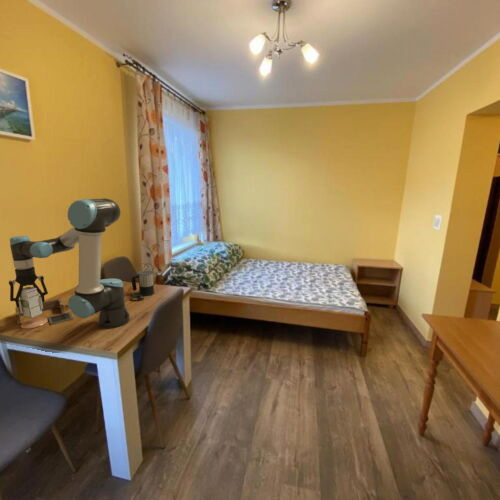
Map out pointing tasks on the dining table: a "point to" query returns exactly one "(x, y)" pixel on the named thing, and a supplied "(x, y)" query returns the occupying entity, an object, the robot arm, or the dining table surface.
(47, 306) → the walnut bay
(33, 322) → the terracotta coaster
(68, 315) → the drain grate
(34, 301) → the syrup box
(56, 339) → the dining table surface
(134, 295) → the milk frother
